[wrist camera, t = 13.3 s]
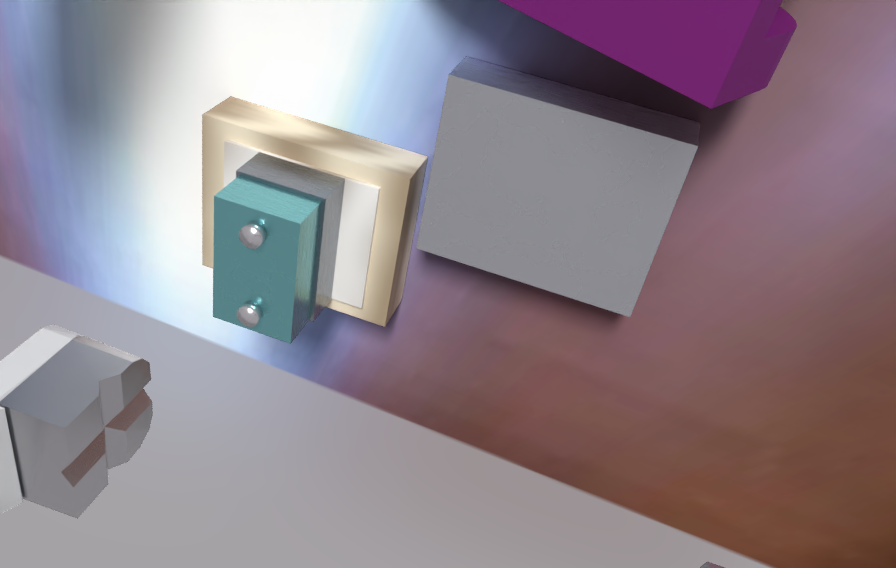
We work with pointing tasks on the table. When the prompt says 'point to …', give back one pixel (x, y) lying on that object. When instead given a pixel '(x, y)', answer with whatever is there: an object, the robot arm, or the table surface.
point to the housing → (275, 245)
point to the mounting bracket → (679, 39)
